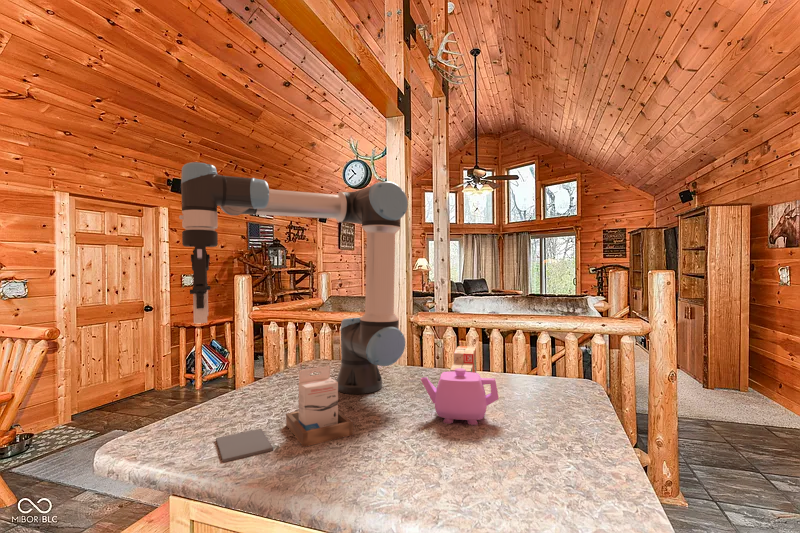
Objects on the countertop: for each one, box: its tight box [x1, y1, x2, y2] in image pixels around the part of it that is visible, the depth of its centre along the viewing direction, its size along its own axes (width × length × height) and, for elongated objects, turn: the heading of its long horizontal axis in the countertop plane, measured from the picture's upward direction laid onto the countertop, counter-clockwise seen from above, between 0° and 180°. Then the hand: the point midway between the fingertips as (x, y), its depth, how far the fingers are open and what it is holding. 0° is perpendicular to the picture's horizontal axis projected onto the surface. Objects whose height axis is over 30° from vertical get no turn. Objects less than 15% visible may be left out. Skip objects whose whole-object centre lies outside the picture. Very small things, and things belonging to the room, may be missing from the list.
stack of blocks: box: [449, 345, 477, 373], centre depth 126 cm, size 21×6×12 cm, turn 165°
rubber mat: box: [215, 428, 274, 463], centre depth 88 cm, size 10×12×1 cm
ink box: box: [298, 365, 339, 431], centre depth 96 cm, size 8×5×15 cm, turn 123°
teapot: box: [420, 368, 499, 426], centre depth 104 cm, size 20×12×13 cm, turn 80°
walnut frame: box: [285, 409, 354, 448], centre depth 96 cm, size 12×14×3 cm
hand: (201, 319), depth 94 cm, fingers open, 13 cm apart
